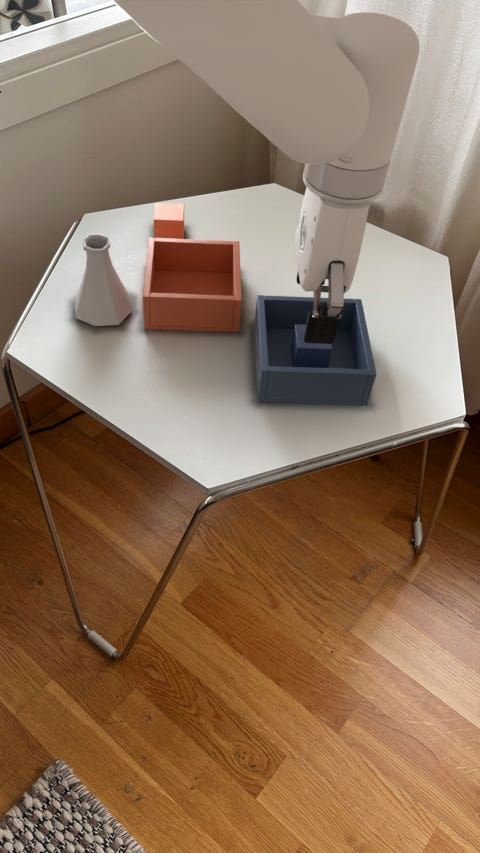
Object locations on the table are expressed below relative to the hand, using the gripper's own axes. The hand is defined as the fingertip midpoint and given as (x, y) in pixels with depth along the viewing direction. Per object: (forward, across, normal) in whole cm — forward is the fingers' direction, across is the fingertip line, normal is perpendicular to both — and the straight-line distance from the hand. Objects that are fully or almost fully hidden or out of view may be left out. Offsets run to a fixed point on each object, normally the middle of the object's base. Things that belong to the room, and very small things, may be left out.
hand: (313, 311), depth 78 cm
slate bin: (+8, 0, +1) cm, 9 cm away
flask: (+9, -9, -24) cm, 27 cm away
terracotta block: (+9, -25, -17) cm, 31 cm away
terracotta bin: (+9, -11, -13) cm, 19 cm away
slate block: (+8, 0, +1) cm, 8 cm away
